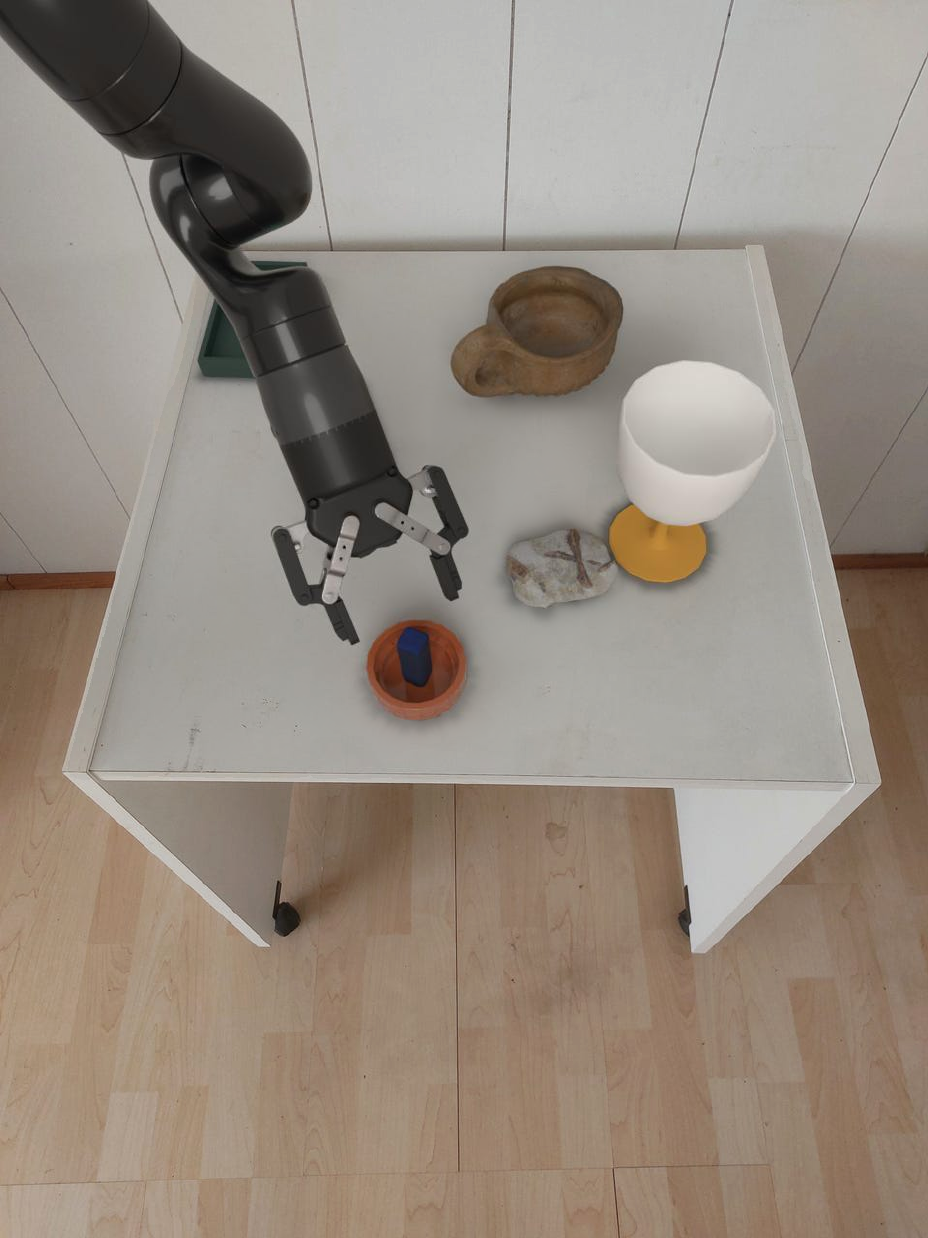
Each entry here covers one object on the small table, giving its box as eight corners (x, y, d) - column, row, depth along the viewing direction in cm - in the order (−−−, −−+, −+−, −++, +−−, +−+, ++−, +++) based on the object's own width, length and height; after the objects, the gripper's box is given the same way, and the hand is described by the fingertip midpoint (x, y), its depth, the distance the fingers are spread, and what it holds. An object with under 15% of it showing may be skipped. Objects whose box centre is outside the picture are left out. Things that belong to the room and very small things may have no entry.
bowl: (536, 460, 82) (518, 373, 74) (439, 413, 90) (414, 330, 82) (652, 359, 88) (646, 269, 80) (551, 324, 96) (537, 239, 88)
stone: (594, 529, 80) (597, 513, 78) (624, 594, 77) (628, 579, 74) (497, 556, 79) (497, 540, 76) (522, 623, 75) (524, 608, 73)
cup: (584, 495, 82) (608, 364, 67) (705, 485, 82) (756, 353, 67) (605, 601, 76) (636, 485, 61) (734, 590, 77) (797, 471, 62)
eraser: (423, 691, 72) (418, 655, 66) (400, 680, 72) (393, 644, 66) (435, 670, 73) (432, 633, 67) (412, 659, 73) (407, 622, 67)
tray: (289, 379, 89) (285, 363, 87) (203, 376, 90) (196, 360, 88) (310, 278, 96) (306, 261, 94) (230, 276, 97) (225, 259, 95)
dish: (365, 720, 71) (361, 706, 69) (376, 633, 75) (372, 617, 72) (463, 725, 71) (462, 711, 68) (469, 637, 75) (468, 621, 72)
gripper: (236, 460, 57) (328, 670, 62) (427, 386, 60) (500, 592, 65) (230, 455, 64) (313, 644, 69) (401, 389, 67) (469, 575, 72)
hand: (404, 619), depth 67 cm, fingers open, 8 cm apart
